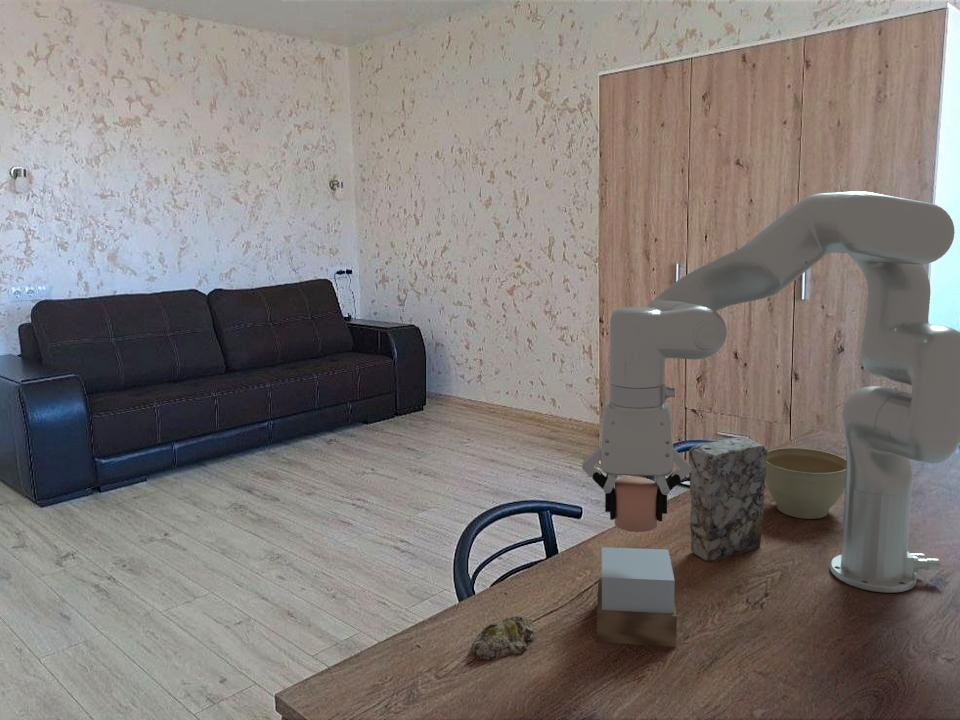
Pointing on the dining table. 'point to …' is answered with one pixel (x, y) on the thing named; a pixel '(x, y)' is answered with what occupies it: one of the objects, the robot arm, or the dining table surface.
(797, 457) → the planter bowl
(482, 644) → the mineral rock
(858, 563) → the robot arm
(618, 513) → the dusty-pink cylinder
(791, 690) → the dining table surface
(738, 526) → the stone block
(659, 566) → the slate cap block
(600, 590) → the walnut base block
